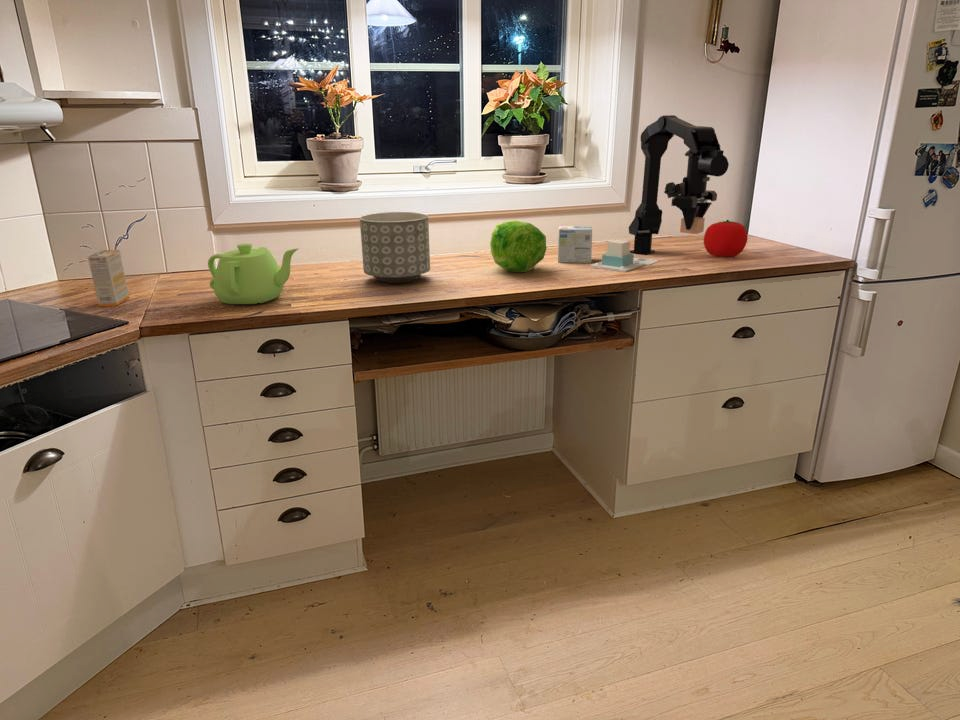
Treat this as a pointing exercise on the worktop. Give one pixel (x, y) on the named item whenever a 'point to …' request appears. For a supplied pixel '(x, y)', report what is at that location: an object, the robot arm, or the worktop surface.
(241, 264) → the teapot
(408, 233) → the planter
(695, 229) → the rust brick
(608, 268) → the build plate
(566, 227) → the light bulb box
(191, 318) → the worktop surface
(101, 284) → the supplement box
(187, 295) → the worktop surface
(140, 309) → the worktop surface
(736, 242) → the tomato
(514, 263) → the lettuce
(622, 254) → the cream brick
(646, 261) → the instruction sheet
